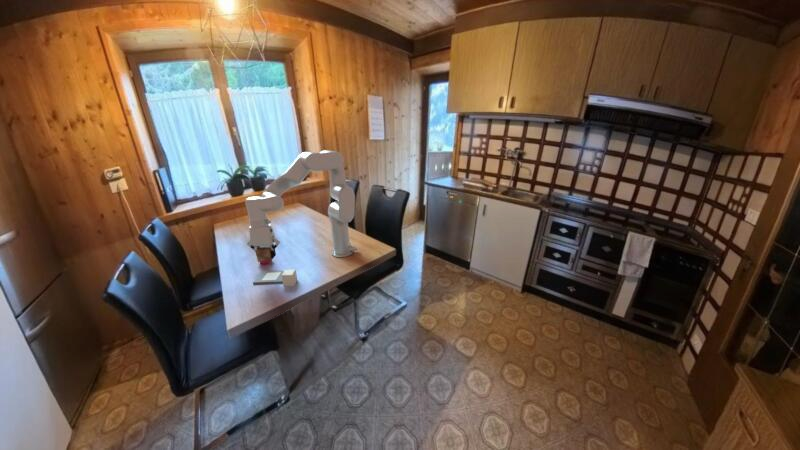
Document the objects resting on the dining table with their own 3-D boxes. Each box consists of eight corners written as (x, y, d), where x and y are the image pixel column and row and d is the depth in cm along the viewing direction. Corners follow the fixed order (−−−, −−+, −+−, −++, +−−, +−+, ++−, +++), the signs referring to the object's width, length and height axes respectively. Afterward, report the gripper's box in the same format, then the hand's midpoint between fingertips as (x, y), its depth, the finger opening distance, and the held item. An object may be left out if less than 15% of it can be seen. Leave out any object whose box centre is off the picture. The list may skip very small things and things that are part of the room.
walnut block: (275, 255, 133) (273, 244, 131) (270, 261, 127) (268, 250, 125) (263, 255, 132) (261, 245, 130) (258, 261, 127) (255, 250, 125)
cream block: (297, 279, 132) (295, 269, 130) (294, 285, 128) (291, 274, 126) (287, 280, 132) (285, 269, 130) (283, 285, 128) (281, 275, 125)
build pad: (289, 272, 139) (288, 270, 139) (282, 282, 130) (281, 281, 129) (262, 273, 139) (261, 271, 138) (253, 284, 129) (252, 282, 129)
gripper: (281, 219, 127) (287, 253, 134) (244, 220, 126) (252, 254, 133) (274, 225, 120) (281, 260, 127) (236, 226, 119) (245, 261, 126)
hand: (266, 256), depth 130 cm, fingers closed on walnut block, 6 cm apart
